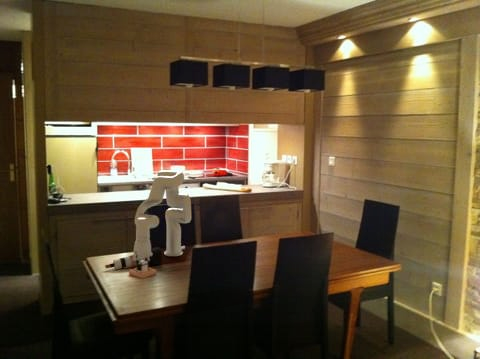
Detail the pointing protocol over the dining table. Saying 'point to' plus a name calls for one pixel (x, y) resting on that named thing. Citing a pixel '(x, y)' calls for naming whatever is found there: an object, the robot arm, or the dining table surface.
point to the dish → (135, 273)
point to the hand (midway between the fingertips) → (142, 268)
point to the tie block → (143, 266)
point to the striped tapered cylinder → (128, 261)
